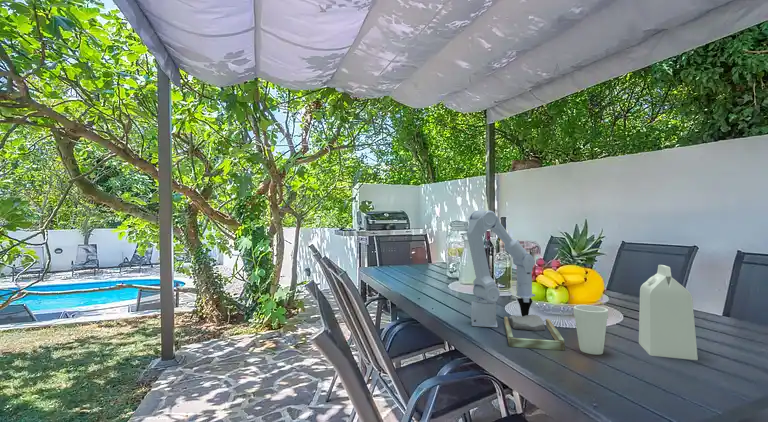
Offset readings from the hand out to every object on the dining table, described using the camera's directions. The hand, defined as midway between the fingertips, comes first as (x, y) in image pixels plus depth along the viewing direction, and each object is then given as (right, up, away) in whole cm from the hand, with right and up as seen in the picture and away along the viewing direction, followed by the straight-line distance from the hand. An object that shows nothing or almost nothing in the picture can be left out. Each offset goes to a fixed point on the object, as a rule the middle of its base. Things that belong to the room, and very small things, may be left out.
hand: (524, 316), depth 152 cm
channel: (-5, -1, -19) cm, 20 cm away
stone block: (-3, -2, -10) cm, 10 cm away
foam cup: (+7, -1, -36) cm, 36 cm away
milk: (+30, -1, -36) cm, 47 cm away
